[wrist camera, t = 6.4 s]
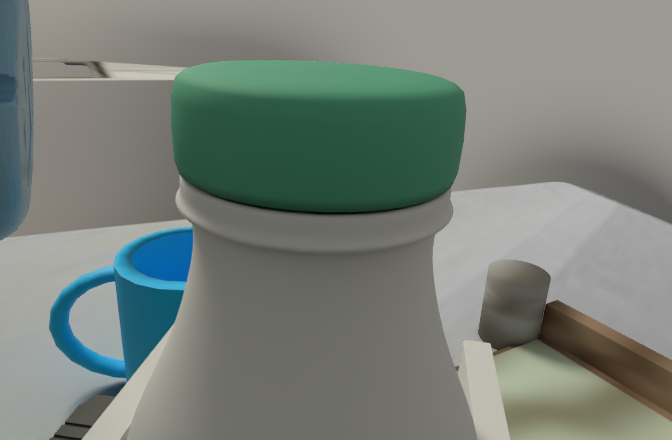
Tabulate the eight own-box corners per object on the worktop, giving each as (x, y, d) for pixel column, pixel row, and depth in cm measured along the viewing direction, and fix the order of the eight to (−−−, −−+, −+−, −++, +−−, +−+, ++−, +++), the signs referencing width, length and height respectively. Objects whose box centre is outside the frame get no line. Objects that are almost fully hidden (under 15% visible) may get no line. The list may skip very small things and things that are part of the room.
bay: (260, 401, 31) (259, 325, 29) (510, 314, 41) (521, 254, 39) (446, 668, 19) (465, 565, 17) (736, 449, 29) (766, 371, 27)
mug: (266, 336, 37) (266, 225, 34) (270, 420, 30) (271, 287, 27) (80, 344, 35) (63, 228, 32) (34, 436, 28) (6, 295, 25)
